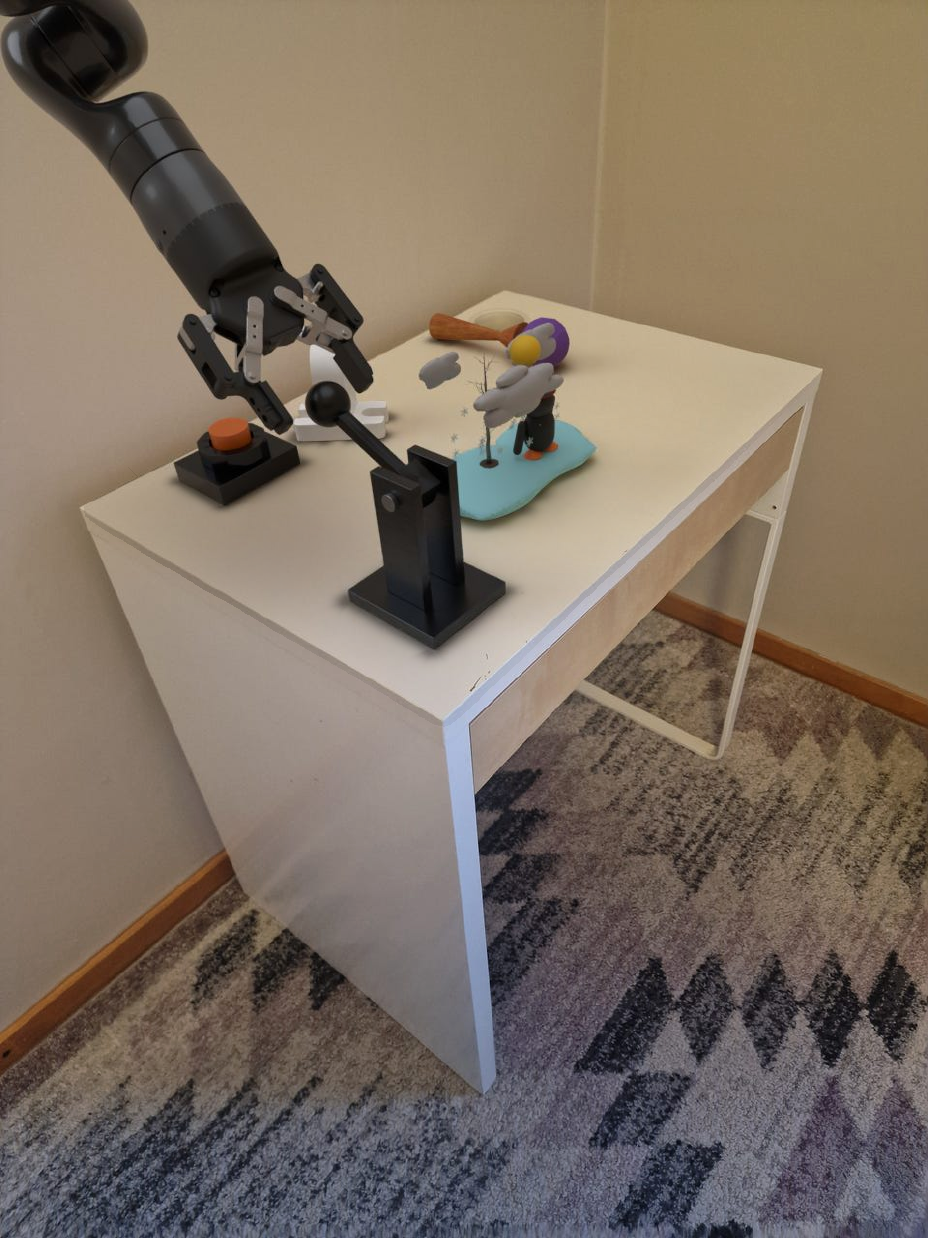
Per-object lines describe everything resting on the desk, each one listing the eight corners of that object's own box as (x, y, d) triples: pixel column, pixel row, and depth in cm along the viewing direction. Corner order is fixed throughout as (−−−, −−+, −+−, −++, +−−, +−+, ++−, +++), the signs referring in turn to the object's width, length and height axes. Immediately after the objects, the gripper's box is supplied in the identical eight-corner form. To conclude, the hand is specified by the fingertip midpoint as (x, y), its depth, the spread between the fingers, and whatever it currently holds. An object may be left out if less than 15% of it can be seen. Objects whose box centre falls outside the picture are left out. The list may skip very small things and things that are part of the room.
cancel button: (228, 455, 86) (224, 440, 84) (204, 444, 88) (200, 428, 87) (259, 439, 88) (256, 424, 87) (235, 428, 90) (232, 413, 89)
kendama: (451, 299, 113) (580, 316, 102) (451, 345, 116) (576, 367, 105) (421, 305, 109) (552, 324, 98) (422, 353, 112) (549, 377, 101)
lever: (293, 414, 68) (297, 381, 65) (326, 397, 70) (332, 364, 67) (406, 523, 66) (417, 493, 63) (438, 502, 68) (449, 472, 65)
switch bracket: (349, 600, 73) (324, 470, 65) (421, 550, 78) (407, 423, 69) (434, 649, 68) (420, 515, 59) (506, 592, 73) (502, 461, 64)
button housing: (224, 506, 85) (214, 471, 83) (178, 480, 90) (167, 447, 87) (300, 463, 91) (293, 430, 88) (254, 441, 95) (246, 409, 92)
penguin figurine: (538, 424, 94) (538, 285, 84) (616, 456, 88) (625, 311, 78) (403, 501, 84) (385, 354, 74) (481, 542, 78) (472, 388, 68)
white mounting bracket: (304, 418, 98) (287, 334, 92) (389, 415, 98) (378, 330, 91) (295, 441, 94) (278, 355, 88) (384, 438, 94) (373, 351, 87)
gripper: (134, 227, 59) (273, 422, 61) (291, 177, 67) (411, 352, 69) (118, 289, 66) (244, 464, 67) (263, 237, 73) (373, 395, 75)
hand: (328, 407), depth 68 cm, fingers open, 8 cm apart
